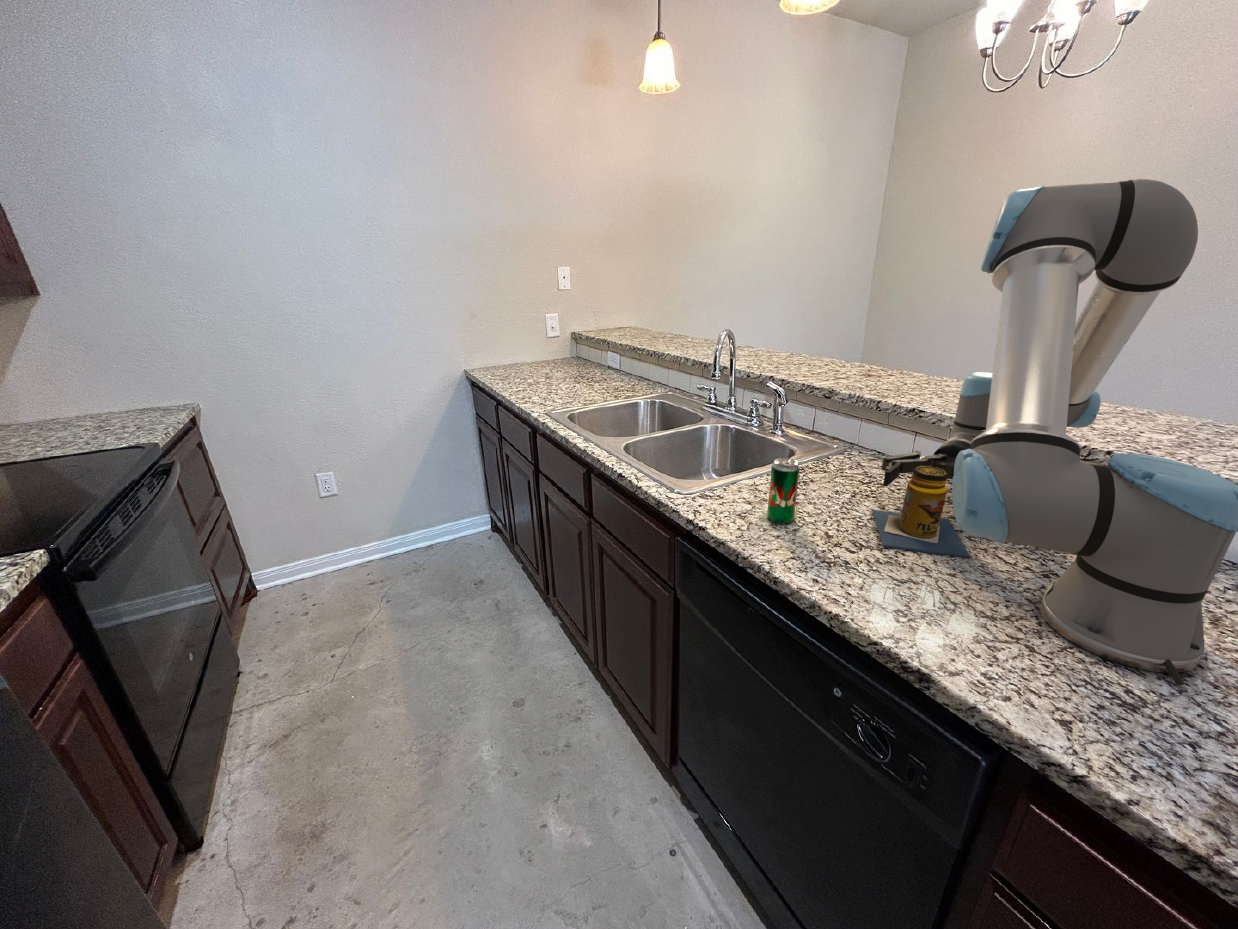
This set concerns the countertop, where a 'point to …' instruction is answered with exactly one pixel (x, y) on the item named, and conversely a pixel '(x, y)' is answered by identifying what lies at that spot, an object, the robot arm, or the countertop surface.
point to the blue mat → (946, 541)
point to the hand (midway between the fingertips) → (927, 488)
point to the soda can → (783, 490)
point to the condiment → (921, 505)
